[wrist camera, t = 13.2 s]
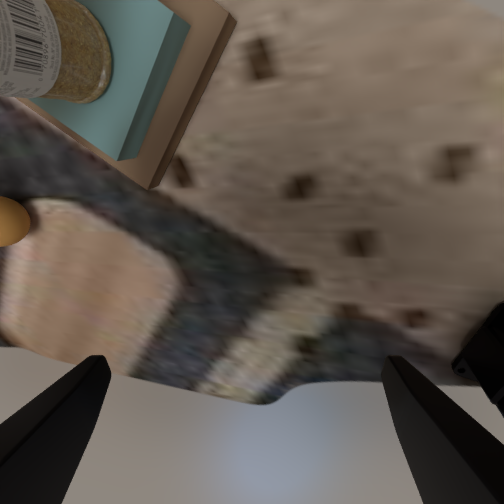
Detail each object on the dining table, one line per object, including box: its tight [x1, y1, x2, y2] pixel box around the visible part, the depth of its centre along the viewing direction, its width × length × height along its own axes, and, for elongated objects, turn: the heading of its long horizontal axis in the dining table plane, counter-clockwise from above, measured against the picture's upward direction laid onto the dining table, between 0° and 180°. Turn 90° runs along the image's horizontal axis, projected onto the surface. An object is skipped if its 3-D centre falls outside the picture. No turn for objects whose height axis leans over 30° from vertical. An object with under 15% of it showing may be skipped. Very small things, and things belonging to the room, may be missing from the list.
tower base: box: [15, 0, 237, 190], centre depth 16 cm, size 11×11×4 cm
